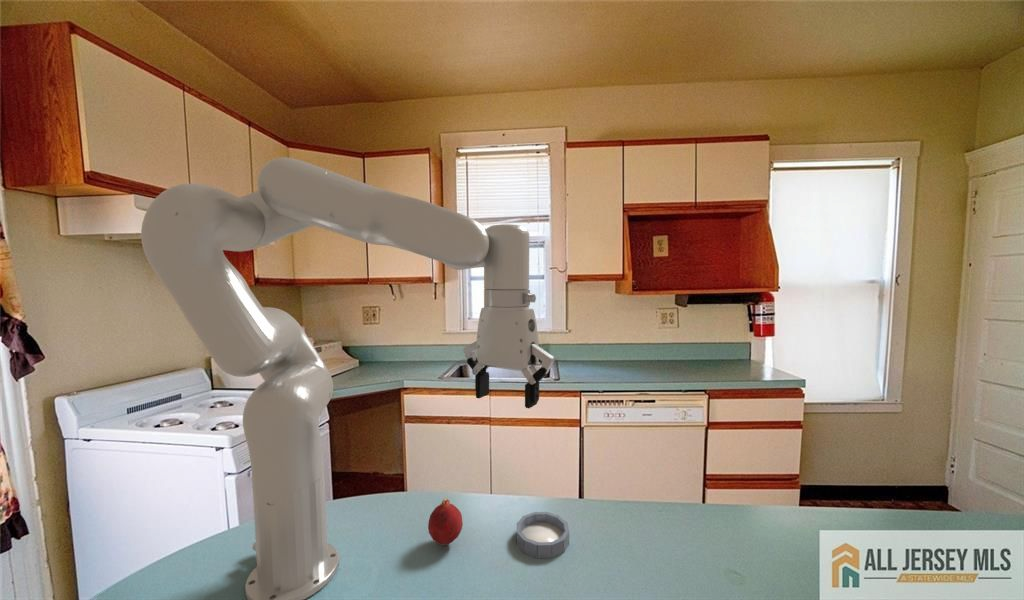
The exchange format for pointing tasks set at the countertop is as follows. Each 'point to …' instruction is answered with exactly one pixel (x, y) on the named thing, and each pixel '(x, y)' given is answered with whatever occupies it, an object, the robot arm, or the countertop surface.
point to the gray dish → (542, 534)
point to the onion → (445, 523)
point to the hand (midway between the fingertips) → (506, 400)
